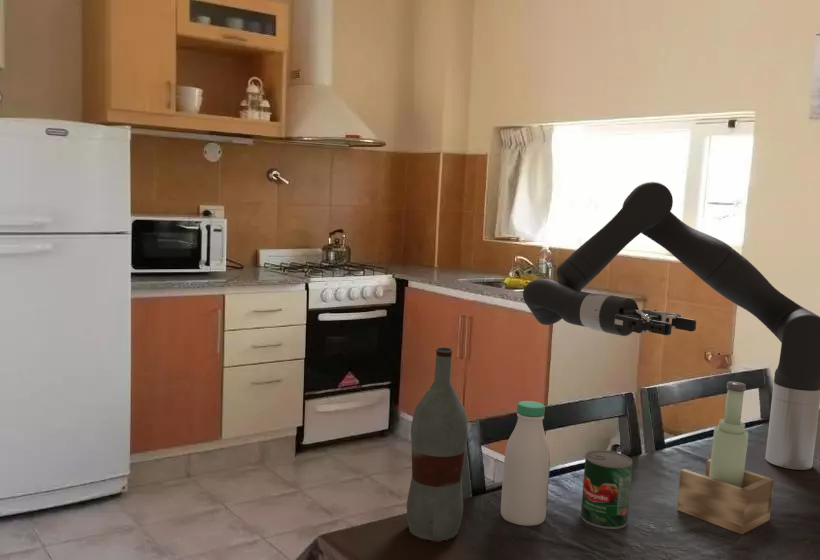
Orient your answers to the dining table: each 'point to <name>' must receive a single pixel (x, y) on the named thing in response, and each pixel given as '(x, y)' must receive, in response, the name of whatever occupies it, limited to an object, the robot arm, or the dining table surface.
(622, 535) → the dining table surface
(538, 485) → the milk bottle
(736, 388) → the glass bottle
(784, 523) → the dining table surface
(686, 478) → the cradle
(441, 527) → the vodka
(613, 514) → the canned tomato
